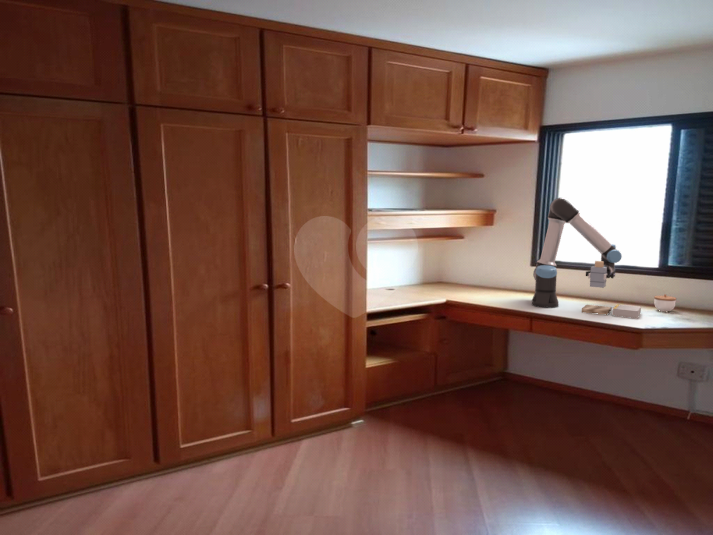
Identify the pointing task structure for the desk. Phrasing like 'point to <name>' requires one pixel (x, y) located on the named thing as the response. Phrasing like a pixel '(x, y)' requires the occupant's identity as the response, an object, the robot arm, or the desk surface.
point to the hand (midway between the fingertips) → (596, 276)
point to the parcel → (599, 263)
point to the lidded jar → (664, 302)
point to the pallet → (596, 309)
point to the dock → (626, 311)
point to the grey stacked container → (598, 276)
